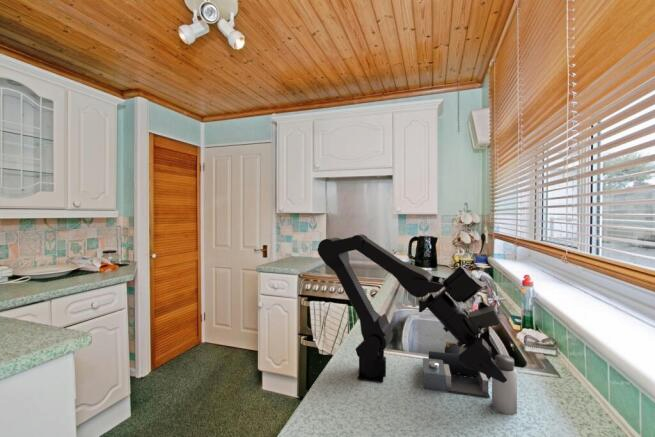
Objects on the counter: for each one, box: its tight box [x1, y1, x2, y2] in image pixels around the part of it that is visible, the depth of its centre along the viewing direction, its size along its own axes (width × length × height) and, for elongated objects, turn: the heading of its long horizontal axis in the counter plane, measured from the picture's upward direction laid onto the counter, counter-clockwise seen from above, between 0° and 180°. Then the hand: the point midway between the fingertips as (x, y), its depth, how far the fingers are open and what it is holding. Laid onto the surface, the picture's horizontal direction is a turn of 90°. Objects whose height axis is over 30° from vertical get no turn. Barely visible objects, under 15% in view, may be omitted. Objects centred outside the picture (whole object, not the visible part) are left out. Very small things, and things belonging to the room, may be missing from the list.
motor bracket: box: [422, 357, 491, 399], centre depth 78 cm, size 15×8×5 cm, turn 75°
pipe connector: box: [428, 341, 492, 379], centre depth 87 cm, size 12×5×15 cm
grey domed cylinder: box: [491, 354, 518, 416], centre depth 68 cm, size 5×5×11 cm
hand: (503, 371), depth 68 cm, fingers open, 9 cm apart
